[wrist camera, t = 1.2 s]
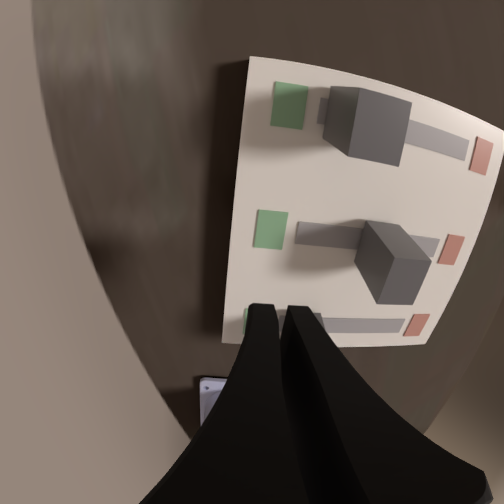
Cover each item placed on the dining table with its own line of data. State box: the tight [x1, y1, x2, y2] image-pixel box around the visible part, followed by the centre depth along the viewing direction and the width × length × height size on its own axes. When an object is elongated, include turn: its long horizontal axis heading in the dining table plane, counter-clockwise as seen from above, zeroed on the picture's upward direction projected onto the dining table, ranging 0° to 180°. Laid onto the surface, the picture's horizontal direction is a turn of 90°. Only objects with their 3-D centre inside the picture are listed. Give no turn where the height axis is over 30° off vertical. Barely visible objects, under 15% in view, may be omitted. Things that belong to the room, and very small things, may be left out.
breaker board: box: [222, 56, 504, 347], centre depth 15 cm, size 16×15×5 cm
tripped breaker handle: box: [354, 220, 432, 305], centre depth 14 cm, size 2×2×4 cm
